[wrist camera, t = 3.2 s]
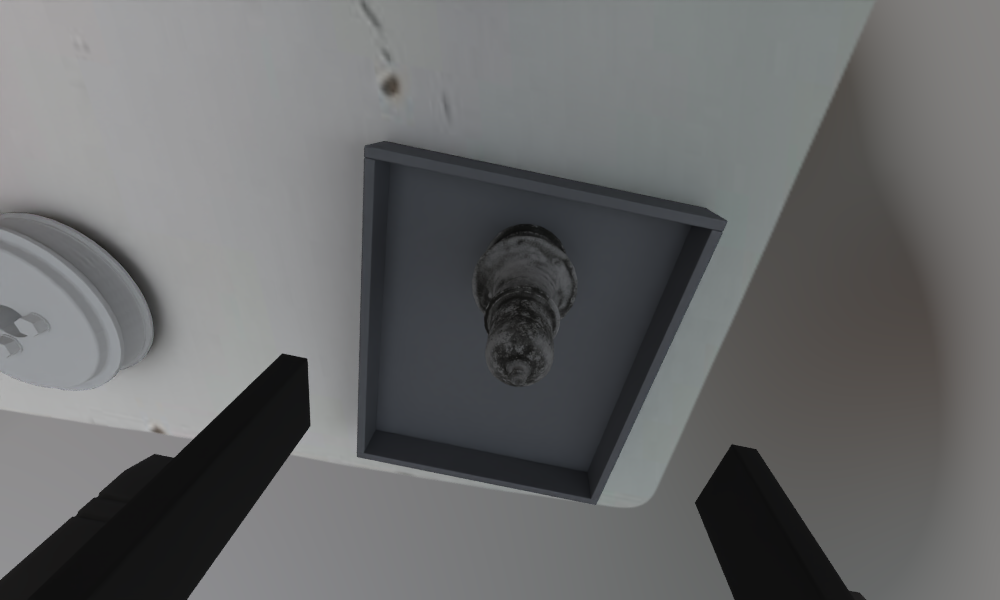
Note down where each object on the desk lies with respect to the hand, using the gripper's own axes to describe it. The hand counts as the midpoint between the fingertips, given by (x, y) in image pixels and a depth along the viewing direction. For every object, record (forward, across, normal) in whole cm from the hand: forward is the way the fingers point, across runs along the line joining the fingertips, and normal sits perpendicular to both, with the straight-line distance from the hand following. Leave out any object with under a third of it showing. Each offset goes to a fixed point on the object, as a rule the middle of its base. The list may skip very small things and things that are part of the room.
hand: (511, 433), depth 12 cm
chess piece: (+14, 0, 0) cm, 14 cm away
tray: (+15, 0, -6) cm, 16 cm away
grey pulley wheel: (+15, -32, -9) cm, 37 cm away
